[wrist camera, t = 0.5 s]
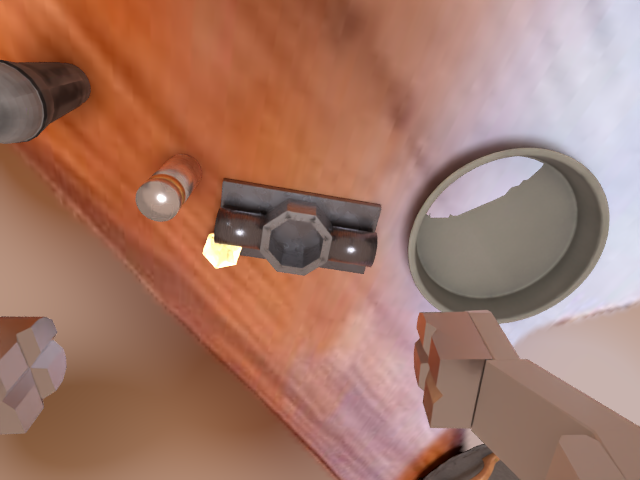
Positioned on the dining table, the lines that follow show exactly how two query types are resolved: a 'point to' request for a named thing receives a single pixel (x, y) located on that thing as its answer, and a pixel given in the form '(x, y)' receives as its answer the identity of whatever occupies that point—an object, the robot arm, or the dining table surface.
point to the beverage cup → (37, 96)
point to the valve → (169, 188)
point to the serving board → (472, 467)
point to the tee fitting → (297, 228)
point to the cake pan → (513, 241)
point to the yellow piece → (221, 253)
